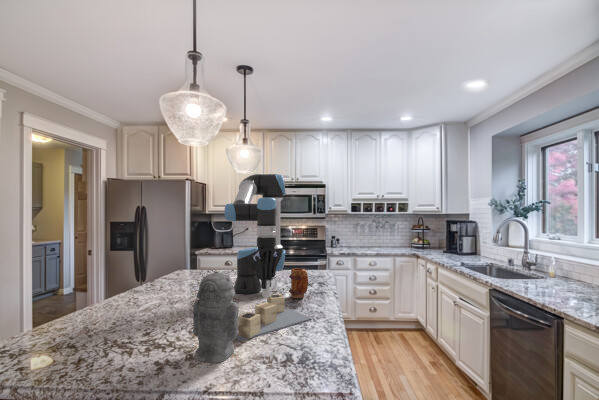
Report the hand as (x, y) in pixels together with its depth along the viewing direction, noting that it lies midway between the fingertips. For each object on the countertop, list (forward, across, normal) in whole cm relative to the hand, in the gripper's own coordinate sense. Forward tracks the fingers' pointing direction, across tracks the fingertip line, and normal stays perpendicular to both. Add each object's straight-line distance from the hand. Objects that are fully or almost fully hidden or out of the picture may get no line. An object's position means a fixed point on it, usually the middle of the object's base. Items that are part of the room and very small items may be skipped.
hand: (266, 296), depth 114 cm
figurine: (+10, -28, -7) cm, 30 cm away
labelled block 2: (+10, +11, +6) cm, 16 cm away
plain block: (+10, 0, 0) cm, 10 cm away
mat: (+10, 0, +1) cm, 10 cm away
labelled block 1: (+10, -12, -4) cm, 16 cm away
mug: (+10, +32, +11) cm, 36 cm away
